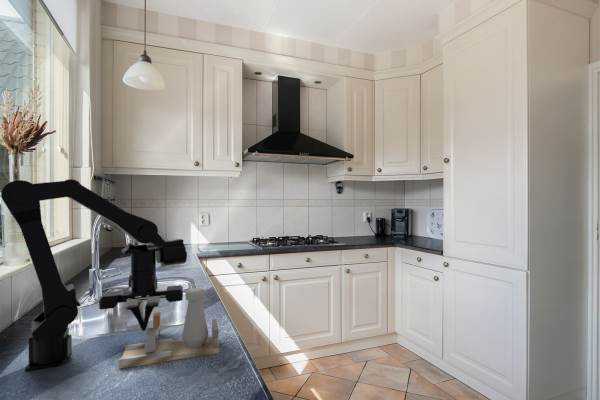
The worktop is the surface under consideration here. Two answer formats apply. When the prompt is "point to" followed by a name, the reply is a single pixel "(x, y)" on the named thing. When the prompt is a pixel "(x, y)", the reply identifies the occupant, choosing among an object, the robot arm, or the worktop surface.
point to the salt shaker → (195, 320)
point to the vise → (168, 350)
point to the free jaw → (153, 334)
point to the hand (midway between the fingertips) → (144, 330)
